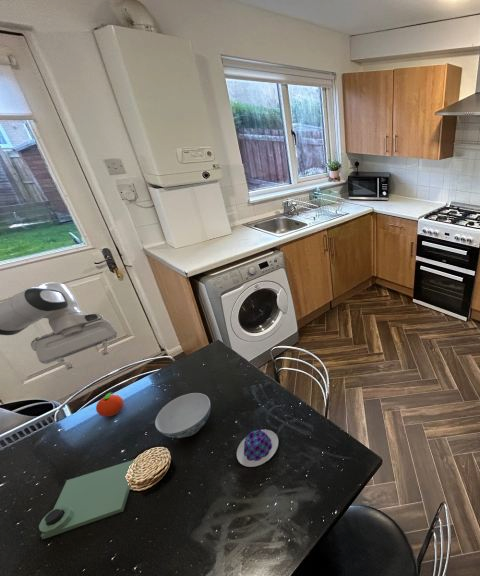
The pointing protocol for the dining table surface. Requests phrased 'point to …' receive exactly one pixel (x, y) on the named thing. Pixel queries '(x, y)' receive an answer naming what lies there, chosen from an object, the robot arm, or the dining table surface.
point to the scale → (90, 499)
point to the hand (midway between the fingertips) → (88, 361)
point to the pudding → (257, 448)
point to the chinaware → (183, 415)
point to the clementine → (109, 405)
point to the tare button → (54, 516)
